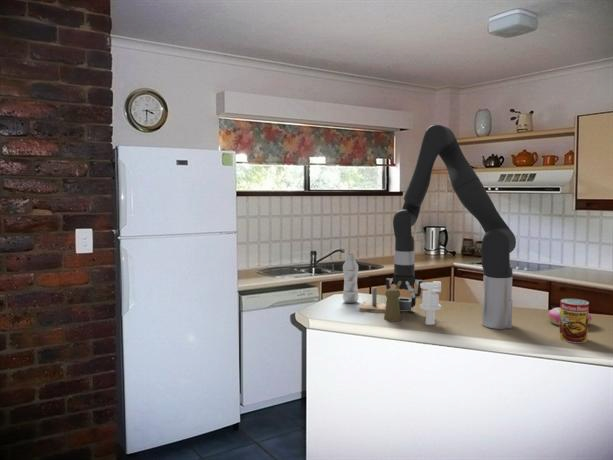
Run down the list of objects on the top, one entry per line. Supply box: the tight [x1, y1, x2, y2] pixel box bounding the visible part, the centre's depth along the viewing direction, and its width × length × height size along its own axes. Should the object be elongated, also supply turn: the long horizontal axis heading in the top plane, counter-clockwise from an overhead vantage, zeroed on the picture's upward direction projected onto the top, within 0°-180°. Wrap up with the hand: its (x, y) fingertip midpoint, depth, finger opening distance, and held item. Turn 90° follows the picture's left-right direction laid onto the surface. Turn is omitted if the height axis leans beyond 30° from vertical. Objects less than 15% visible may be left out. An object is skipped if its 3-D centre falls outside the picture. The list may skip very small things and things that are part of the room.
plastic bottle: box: [342, 253, 360, 304], centre depth 216 cm, size 6×7×20 cm
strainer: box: [419, 280, 442, 326], centre depth 184 cm, size 7×7×15 cm
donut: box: [547, 306, 593, 327], centre depth 183 cm, size 14×13×5 cm
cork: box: [383, 287, 402, 322], centre depth 191 cm, size 6×6×11 cm
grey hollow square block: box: [398, 297, 414, 312], centre depth 201 cm, size 6×6×4 cm
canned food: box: [558, 298, 590, 344], centre depth 165 cm, size 8×8×12 cm
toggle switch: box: [358, 287, 386, 314], centre depth 206 cm, size 10×10×8 cm
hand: (403, 306), depth 201 cm, fingers closed on grey hollow square block, 6 cm apart
